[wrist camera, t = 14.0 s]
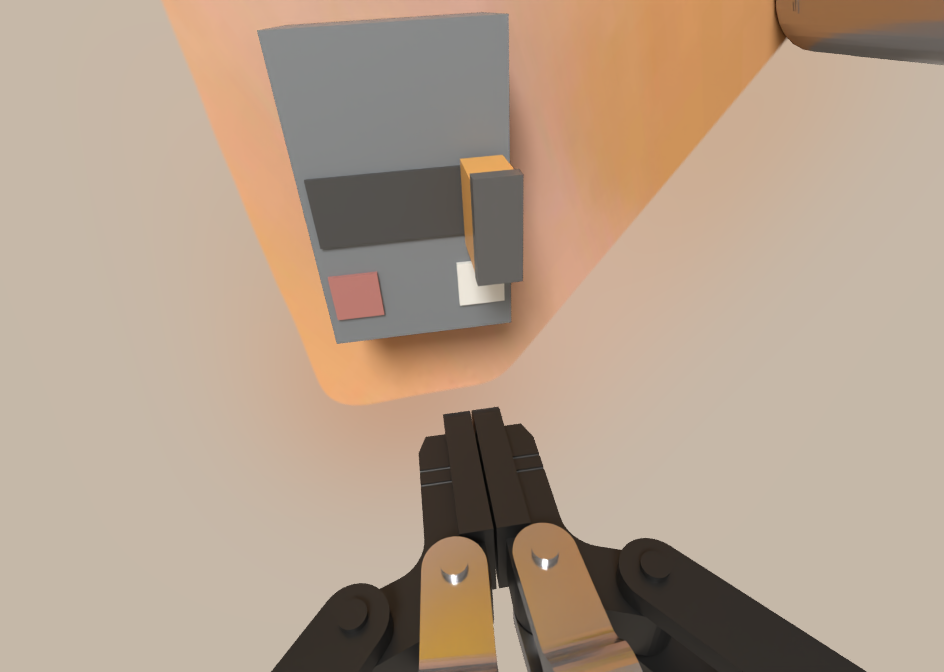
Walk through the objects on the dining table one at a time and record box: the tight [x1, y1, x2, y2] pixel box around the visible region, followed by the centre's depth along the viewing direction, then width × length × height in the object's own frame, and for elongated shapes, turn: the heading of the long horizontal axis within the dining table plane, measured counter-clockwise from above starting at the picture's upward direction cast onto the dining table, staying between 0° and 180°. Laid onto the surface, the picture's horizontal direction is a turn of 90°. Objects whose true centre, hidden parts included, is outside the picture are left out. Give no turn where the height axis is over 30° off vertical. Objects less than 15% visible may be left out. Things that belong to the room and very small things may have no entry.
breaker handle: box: [460, 155, 523, 286], centre depth 26 cm, size 2×6×5 cm, turn 3°
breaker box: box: [257, 12, 511, 344], centre depth 32 cm, size 12×18×8 cm, turn 3°
